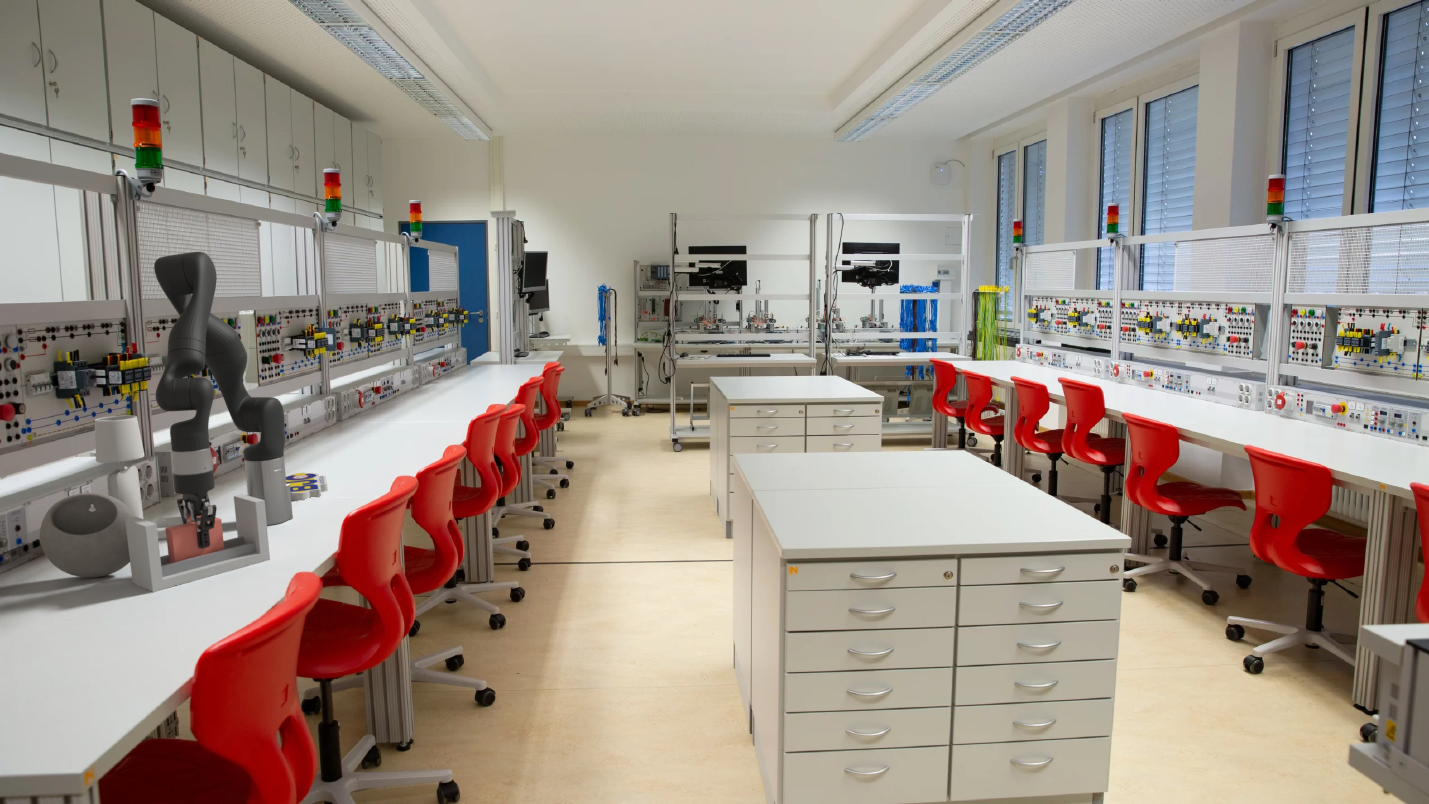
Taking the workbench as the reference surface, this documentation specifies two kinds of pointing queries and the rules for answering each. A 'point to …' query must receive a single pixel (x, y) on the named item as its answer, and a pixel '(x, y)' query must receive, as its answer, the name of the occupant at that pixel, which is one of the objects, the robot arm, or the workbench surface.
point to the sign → (306, 485)
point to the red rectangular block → (192, 541)
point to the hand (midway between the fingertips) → (200, 545)
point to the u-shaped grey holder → (236, 554)
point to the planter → (86, 535)
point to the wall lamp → (121, 444)
